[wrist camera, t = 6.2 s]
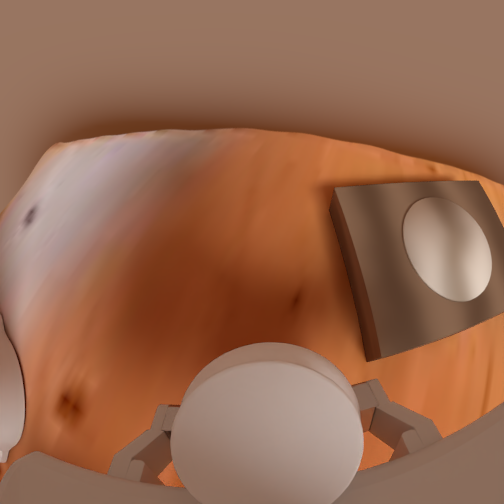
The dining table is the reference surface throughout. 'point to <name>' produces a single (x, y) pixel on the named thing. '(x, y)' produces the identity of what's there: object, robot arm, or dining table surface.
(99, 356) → the dining table surface
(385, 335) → the walnut board
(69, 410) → the dining table surface
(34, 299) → the dining table surface
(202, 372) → the supplement bottle
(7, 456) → the robot arm
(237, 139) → the dining table surface
